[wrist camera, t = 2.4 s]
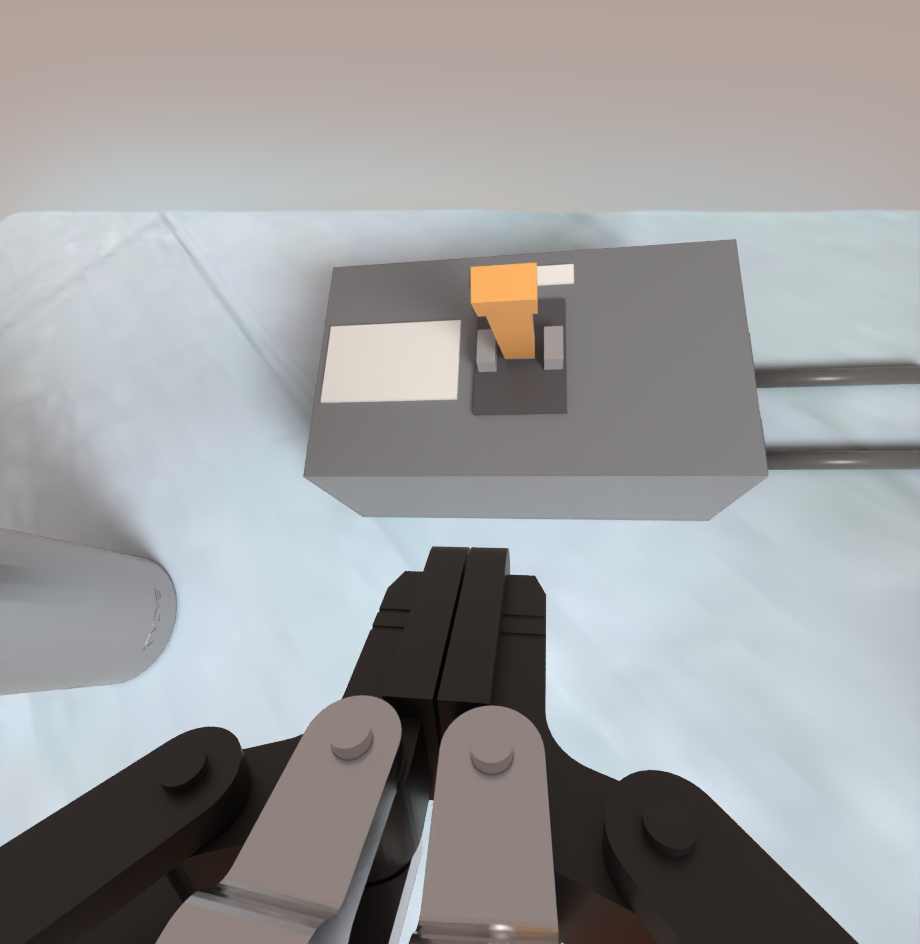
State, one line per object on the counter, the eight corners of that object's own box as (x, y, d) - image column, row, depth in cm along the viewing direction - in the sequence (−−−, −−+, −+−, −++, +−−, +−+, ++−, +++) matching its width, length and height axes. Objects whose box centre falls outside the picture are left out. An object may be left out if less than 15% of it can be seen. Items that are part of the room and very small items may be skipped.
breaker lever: (500, 361, 29) (470, 303, 18) (500, 340, 29) (470, 266, 18) (540, 360, 29) (536, 299, 17) (540, 338, 29) (536, 262, 17)
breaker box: (362, 516, 38) (291, 468, 28) (380, 349, 43) (324, 252, 32) (966, 524, 32) (1176, 465, 21) (917, 326, 36) (1072, 195, 26)
